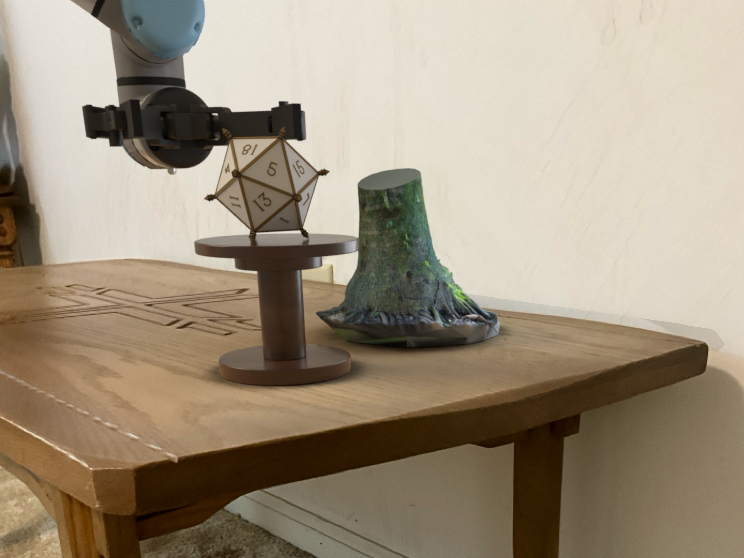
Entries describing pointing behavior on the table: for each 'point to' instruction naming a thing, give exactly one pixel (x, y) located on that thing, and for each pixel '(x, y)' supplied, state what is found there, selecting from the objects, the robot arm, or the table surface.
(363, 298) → the tree stump
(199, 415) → the table surface
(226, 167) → the game die
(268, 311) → the pedestal stand
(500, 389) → the table surface
